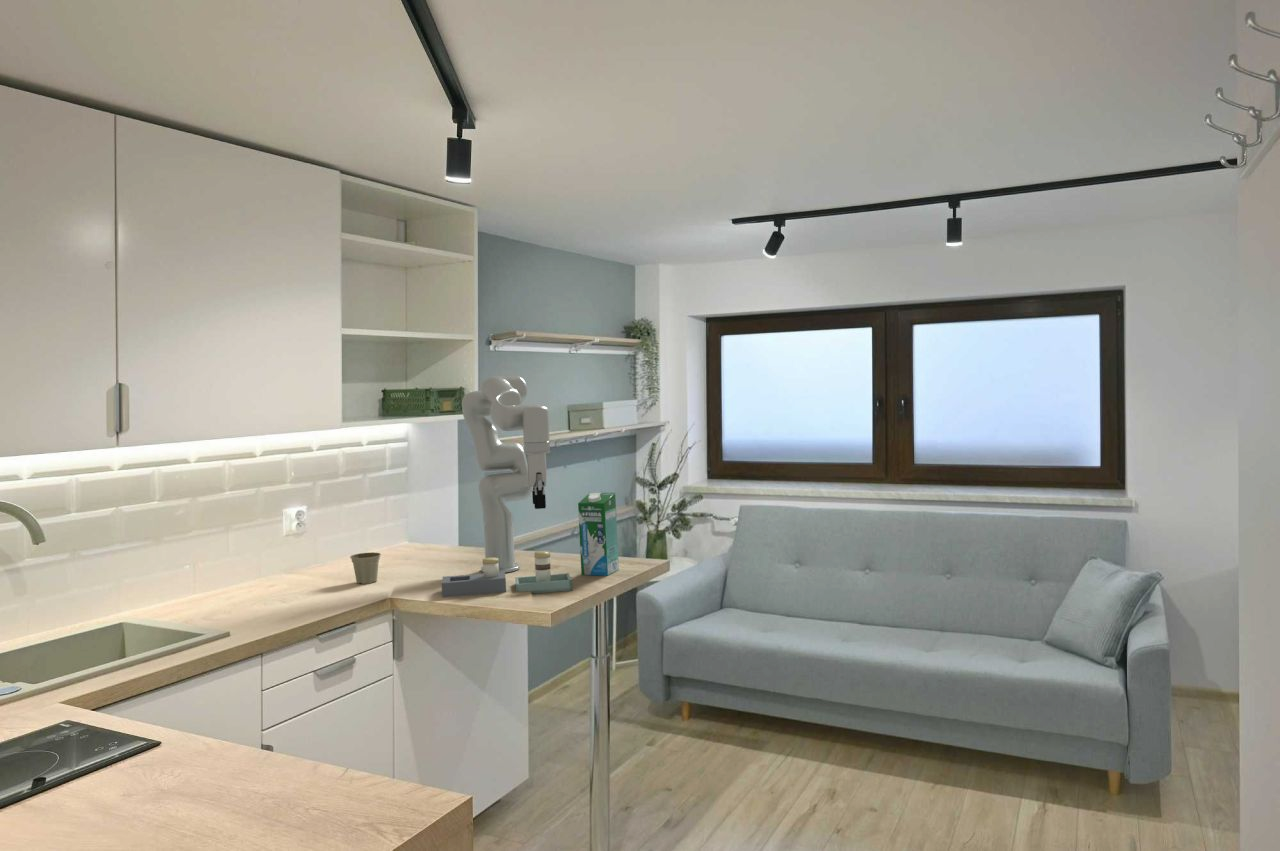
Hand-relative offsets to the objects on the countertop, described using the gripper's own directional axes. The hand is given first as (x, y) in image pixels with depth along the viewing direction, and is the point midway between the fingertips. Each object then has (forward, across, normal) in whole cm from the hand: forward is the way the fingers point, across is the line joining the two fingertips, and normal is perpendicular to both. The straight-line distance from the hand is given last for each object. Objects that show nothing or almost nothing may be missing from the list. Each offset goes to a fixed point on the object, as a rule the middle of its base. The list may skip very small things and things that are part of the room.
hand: (539, 506), depth 261 cm
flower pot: (+26, -29, -54) cm, 66 cm away
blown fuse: (+24, +1, 0) cm, 24 cm away
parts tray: (+24, +1, 0) cm, 25 cm away
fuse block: (+25, +1, -20) cm, 32 cm away
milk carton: (+25, -16, +19) cm, 35 cm away
